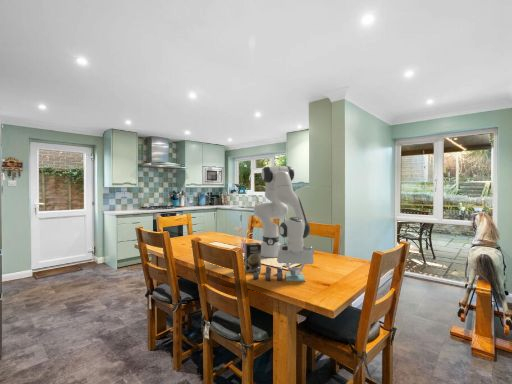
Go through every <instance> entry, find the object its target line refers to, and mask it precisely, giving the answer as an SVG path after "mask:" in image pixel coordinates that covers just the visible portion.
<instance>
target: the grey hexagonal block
mask: <svg viewBox="0 0 512 384" xmlns="http://www.w3.org/2000/svg"><path fill="white" fill-rule="evenodd" d="M299 268H300V267H295V266H294V267H291V271H289V273H290V274H291V275H294V276H297V275H300V273H301V272H300V269H299Z"/></svg>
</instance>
